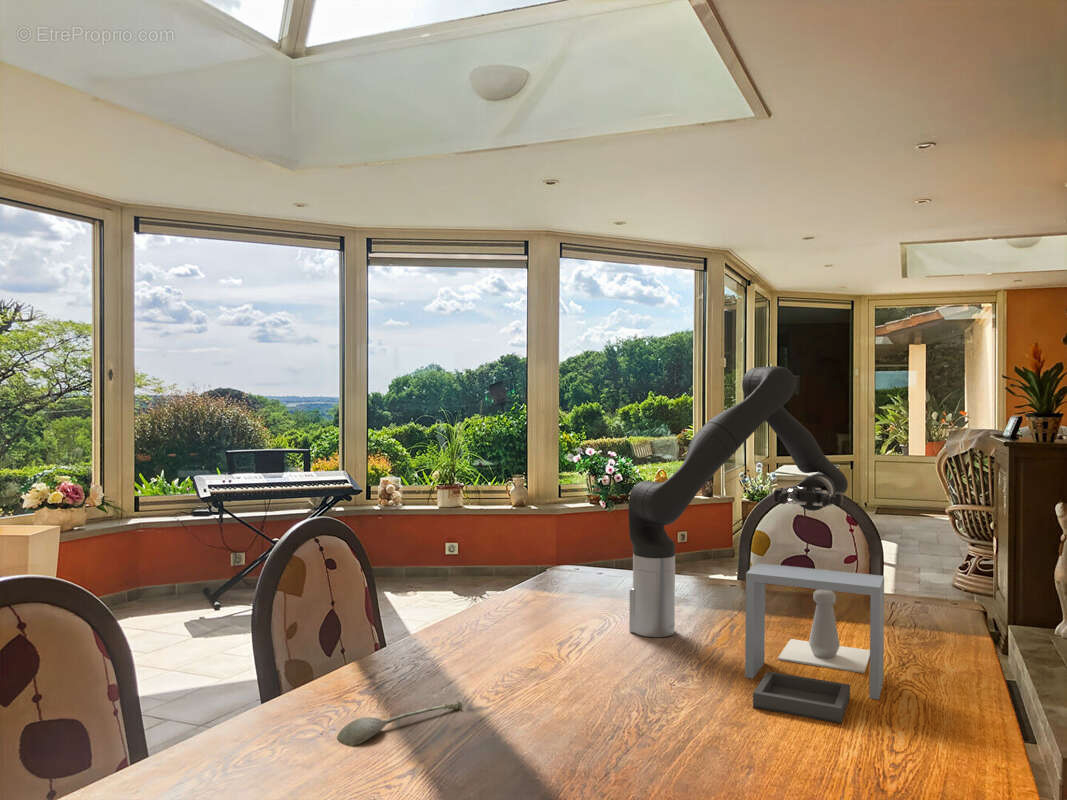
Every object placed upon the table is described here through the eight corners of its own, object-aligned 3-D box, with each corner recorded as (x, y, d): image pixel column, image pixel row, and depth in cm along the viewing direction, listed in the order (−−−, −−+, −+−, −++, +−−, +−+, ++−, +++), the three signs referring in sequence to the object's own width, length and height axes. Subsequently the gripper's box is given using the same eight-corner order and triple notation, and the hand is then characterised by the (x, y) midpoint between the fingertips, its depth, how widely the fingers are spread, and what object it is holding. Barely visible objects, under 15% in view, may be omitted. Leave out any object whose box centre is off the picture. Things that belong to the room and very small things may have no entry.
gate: (745, 677, 150) (745, 573, 150) (756, 661, 159) (757, 563, 159) (878, 699, 139) (879, 587, 139) (883, 681, 148) (884, 575, 148)
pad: (777, 659, 160) (777, 657, 160) (790, 640, 172) (790, 638, 172) (864, 673, 152) (864, 671, 152) (871, 652, 165) (871, 650, 165)
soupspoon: (329, 741, 124) (346, 759, 119) (328, 720, 124) (346, 737, 119) (451, 703, 137) (471, 718, 132) (451, 684, 137) (471, 698, 132)
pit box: (752, 707, 136) (753, 692, 135) (767, 684, 146) (767, 671, 146) (841, 723, 129) (841, 708, 129) (849, 698, 140) (849, 684, 140)
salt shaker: (841, 661, 158) (842, 595, 158) (810, 658, 159) (811, 593, 159) (836, 651, 164) (837, 588, 164) (807, 649, 165) (807, 586, 165)
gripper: (783, 474, 191) (769, 481, 176) (847, 478, 184) (838, 485, 170) (783, 506, 191) (769, 515, 176) (847, 510, 184) (838, 520, 170)
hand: (803, 500), depth 173 cm, fingers open, 8 cm apart
